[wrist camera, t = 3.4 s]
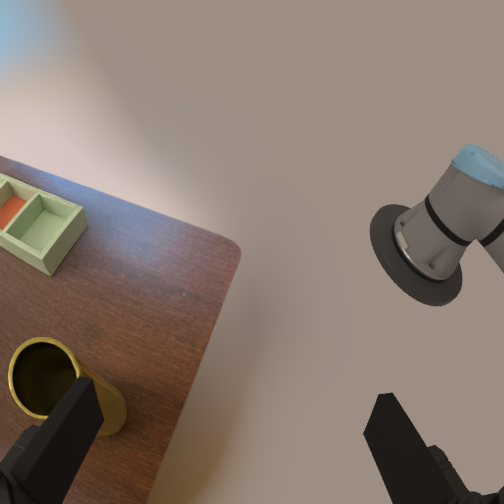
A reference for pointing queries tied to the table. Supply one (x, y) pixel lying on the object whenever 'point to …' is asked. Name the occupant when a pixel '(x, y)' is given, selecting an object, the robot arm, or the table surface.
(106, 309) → the table surface
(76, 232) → the tray
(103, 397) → the vase
